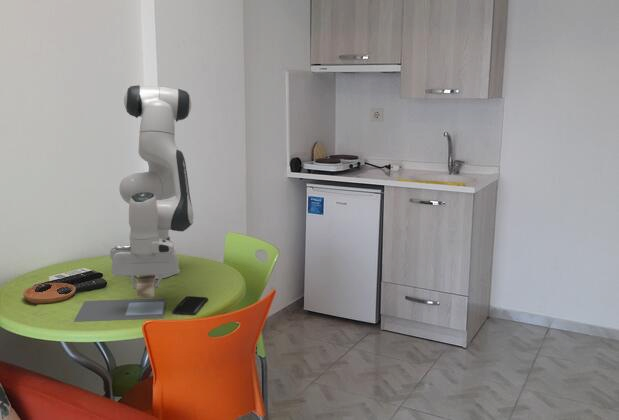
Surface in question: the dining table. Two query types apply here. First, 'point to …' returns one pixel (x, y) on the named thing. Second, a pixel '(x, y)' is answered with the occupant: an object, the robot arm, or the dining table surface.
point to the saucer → (48, 293)
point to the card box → (146, 286)
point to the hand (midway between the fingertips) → (146, 287)
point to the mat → (121, 310)
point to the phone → (190, 305)
